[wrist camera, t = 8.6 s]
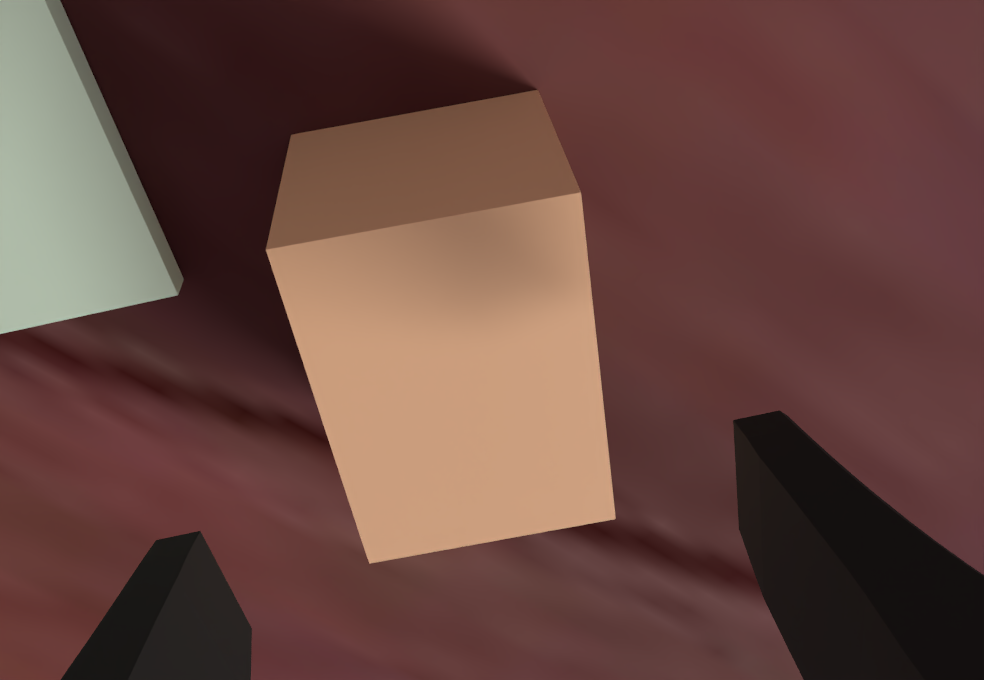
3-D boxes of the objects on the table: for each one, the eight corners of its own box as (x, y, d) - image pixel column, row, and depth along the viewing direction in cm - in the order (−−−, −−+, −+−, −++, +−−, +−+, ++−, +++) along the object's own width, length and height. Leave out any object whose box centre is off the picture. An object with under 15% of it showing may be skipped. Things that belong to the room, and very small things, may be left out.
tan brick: (371, 409, 20) (369, 563, 17) (291, 131, 17) (265, 249, 13) (572, 372, 20) (615, 518, 17) (536, 87, 17) (580, 192, 13)
